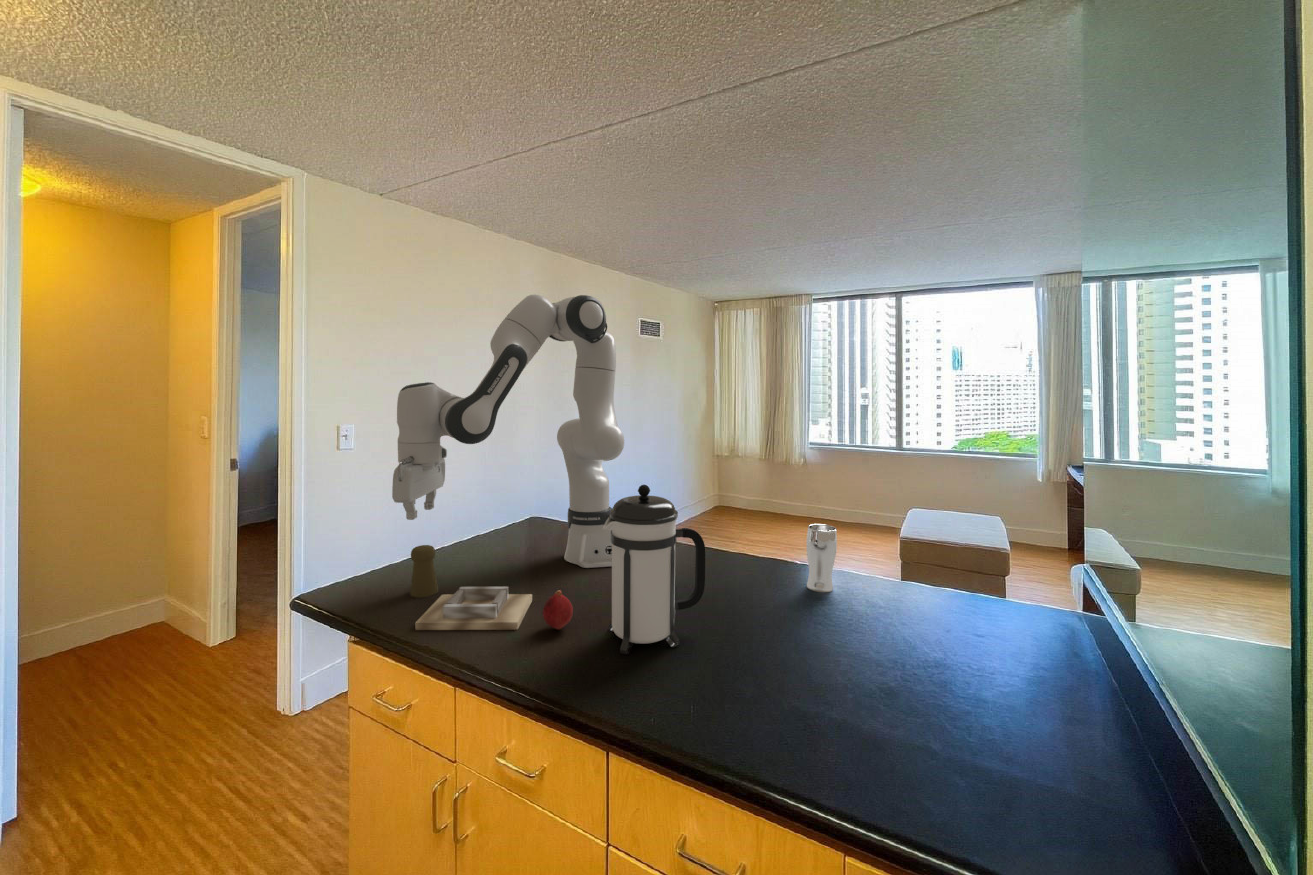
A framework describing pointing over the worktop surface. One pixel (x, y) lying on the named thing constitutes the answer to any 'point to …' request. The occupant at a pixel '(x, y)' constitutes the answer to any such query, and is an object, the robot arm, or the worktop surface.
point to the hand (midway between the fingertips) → (420, 513)
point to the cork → (423, 572)
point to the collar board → (476, 610)
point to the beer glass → (821, 556)
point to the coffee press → (648, 569)
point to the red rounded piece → (557, 611)
